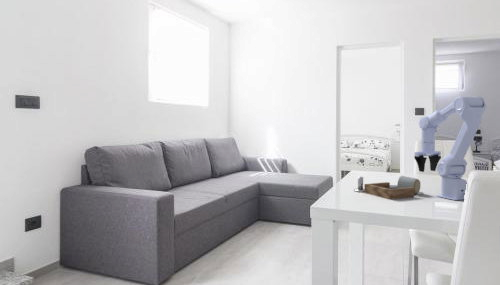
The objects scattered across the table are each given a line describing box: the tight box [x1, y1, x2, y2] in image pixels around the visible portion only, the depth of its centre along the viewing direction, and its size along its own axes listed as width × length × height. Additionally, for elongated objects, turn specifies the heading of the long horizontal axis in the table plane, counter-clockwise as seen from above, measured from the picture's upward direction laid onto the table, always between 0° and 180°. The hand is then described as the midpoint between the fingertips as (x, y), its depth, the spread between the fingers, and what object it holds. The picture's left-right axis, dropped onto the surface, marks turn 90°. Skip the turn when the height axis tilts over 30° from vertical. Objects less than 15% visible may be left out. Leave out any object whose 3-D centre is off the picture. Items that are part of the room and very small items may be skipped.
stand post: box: [353, 176, 364, 193], centre depth 172 cm, size 6×6×7 cm
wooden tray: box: [363, 181, 415, 200], centre depth 163 cm, size 16×14×4 cm
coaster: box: [390, 184, 398, 189], centre depth 180 cm, size 9×9×1 cm
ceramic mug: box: [396, 175, 421, 195], centre depth 168 cm, size 11×8×8 cm
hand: (427, 171), depth 171 cm, fingers open, 7 cm apart
